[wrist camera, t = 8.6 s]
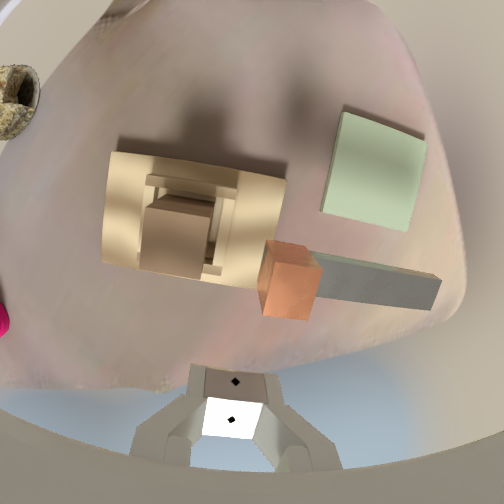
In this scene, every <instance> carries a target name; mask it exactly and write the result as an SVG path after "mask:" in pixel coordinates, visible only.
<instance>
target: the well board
mask: <svg viewBox="0 0 504 504" xmlns="http://www.w3.org/2000/svg"><path fill="white" fill-rule="evenodd" d="M286 183H287V180H286V179H283V178H279V177H274V176H269V175H264V174H259V173H254V172H249V171H244V170H239V169H233V168H228V167H222V166H216V165H211V164H205V163H199V162H192V161H186V160H180V159H173V158H166V157H159V156H151V155H144V154H136V153H128V152H119V151H112V152H111V158H110V165H109V173H108V180H107V189H106V198H105V208H104V220H103V234H102V252H101V262H103V263H108V264H113V265H118V266H123V267H128V268H133V269H139V262H140V250H141V240H142V230H143V221H144V213H145V207H146V206H148V205H149V204H151V203H152V202H154V201H155V200H157V199H159V198H160V197H162V196H163V195H165V194H171V195H177V196H183V197H189V198H195V199H201V200H207V201H213V202H215V207H214V212H213V218H212V223H211V229H210V235H209V241H208V247H207V252H206V256H205V261H204V265H203V269H202V274H201V278H200V280H199V281H205V282H211V283H217V284H223V285H229V286H235V287H241V288H248V289H254V290H258V289H257V284H256V283H257V278H258V274H259V270H260V265H261V261H262V256H263V252H264V247H265V243H266V239H269V240H274V237H275V232H276V228H277V223H278V219H279V214H280V210H281V205H282V201H283V196H284V192H285V187H286ZM139 270H141V269H139ZM144 271H147V270H144ZM149 272H152V271H149ZM155 273H157V272H155ZM160 274H163V273H160ZM165 275H168V274H165ZM171 276H174V275H171ZM176 277H179V276H176ZM182 278H185V277H182ZM188 279H191V278H188ZM193 280H196V279H193Z"/></svg>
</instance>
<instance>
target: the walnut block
mask: <svg viewBox="0 0 504 504" xmlns="http://www.w3.org/2000/svg"><path fill="white" fill-rule="evenodd" d="M214 207H215V202H213V201H207V200H201V199H195V198H189V197H183V196H177V195H171V194H165V195H163V196H162V197H160V198H159V199H157V200H155V201H154V202H152V203H151V204H149V205H148V206H146V207H145V213H144V221H143V230H142V240H141V250H140V262H139V269H141V270H147V271H152V272H157V273H163V274H168V275H174V276H179V277H185V278H191V279H196V280H200V278H201V274H202V269H203V265H204V261H205V256H206V252H207V247H208V241H209V235H210V229H211V223H212V218H213V212H214Z"/></svg>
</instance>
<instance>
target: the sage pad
mask: <svg viewBox="0 0 504 504" xmlns="http://www.w3.org/2000/svg"><path fill="white" fill-rule="evenodd" d="M427 144H428V143H427V142H425V141H422V140H420V139H418V138H415V137H413V136H410V135H408V134H406V133H403V132H401V131H398V130H395V129H393V128H390V127H388V126H385V125H382V124H380V123H377V122H374V121H371V120H368V119H365V118H363V117H360V116H357V115H354V114H350V113H347V112H342V113H341V116H340V121H339V126H338V131H337V136H336V141H335V146H334V150H333V155H332V160H331V164H330V169H329V173H328V178H327V182H326V186H325V191H324V195H323V199H322V203H321V208H320V211H321V212H323V213H328V214H332V215H337V216H341V217H345V218H350V219H354V220H358V221H362V222H367V223H371V224H375V225H379V226H383V227H387V228H391V229H395V230H399V231H403V232H407V230H408V227H409V223H410V220H411V216H412V212H413V208H414V204H415V200H416V196H417V192H418V188H419V183H420V179H421V174H422V170H423V165H424V160H425V155H426V150H427Z"/></svg>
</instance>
